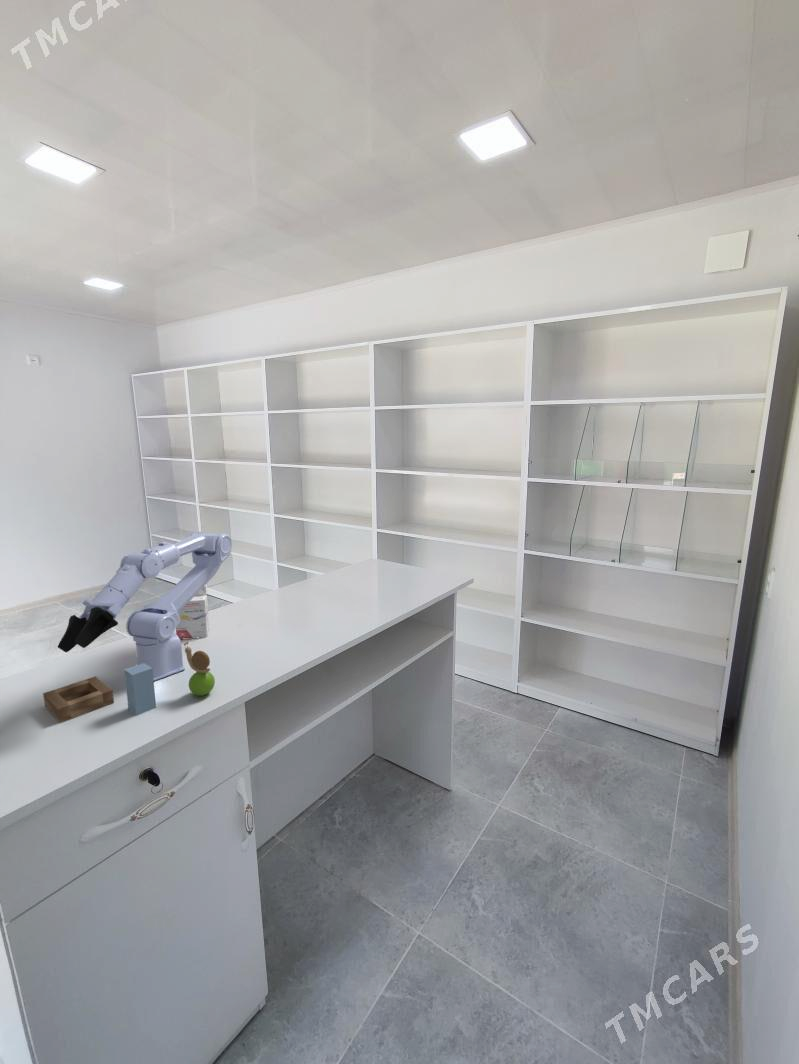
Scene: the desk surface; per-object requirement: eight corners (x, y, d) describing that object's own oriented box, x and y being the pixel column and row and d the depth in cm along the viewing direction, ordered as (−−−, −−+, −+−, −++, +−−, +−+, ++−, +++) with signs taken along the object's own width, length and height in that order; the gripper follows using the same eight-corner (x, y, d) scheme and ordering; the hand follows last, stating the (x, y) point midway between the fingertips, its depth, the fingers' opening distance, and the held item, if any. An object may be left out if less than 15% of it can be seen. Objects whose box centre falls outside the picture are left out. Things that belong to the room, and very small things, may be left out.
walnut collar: (96, 688, 109) (95, 676, 109) (114, 702, 103) (112, 690, 103) (44, 706, 102) (43, 693, 101) (60, 722, 96) (58, 709, 95)
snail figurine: (197, 686, 111) (193, 637, 108) (220, 690, 109) (217, 640, 107) (180, 697, 105) (176, 646, 103) (204, 702, 104) (200, 650, 102)
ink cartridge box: (176, 640, 137) (171, 591, 135) (179, 634, 142) (175, 586, 139) (207, 637, 139) (204, 589, 137) (210, 631, 144) (206, 584, 141)
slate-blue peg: (147, 701, 104) (144, 662, 102) (156, 707, 101) (152, 668, 100) (128, 708, 101) (124, 669, 99) (136, 715, 98) (132, 675, 97)
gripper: (84, 589, 106) (37, 640, 97) (117, 577, 99) (70, 630, 89) (110, 609, 110) (67, 659, 100) (143, 598, 102) (101, 651, 93)
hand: (70, 647), depth 95 cm, fingers open, 7 cm apart
